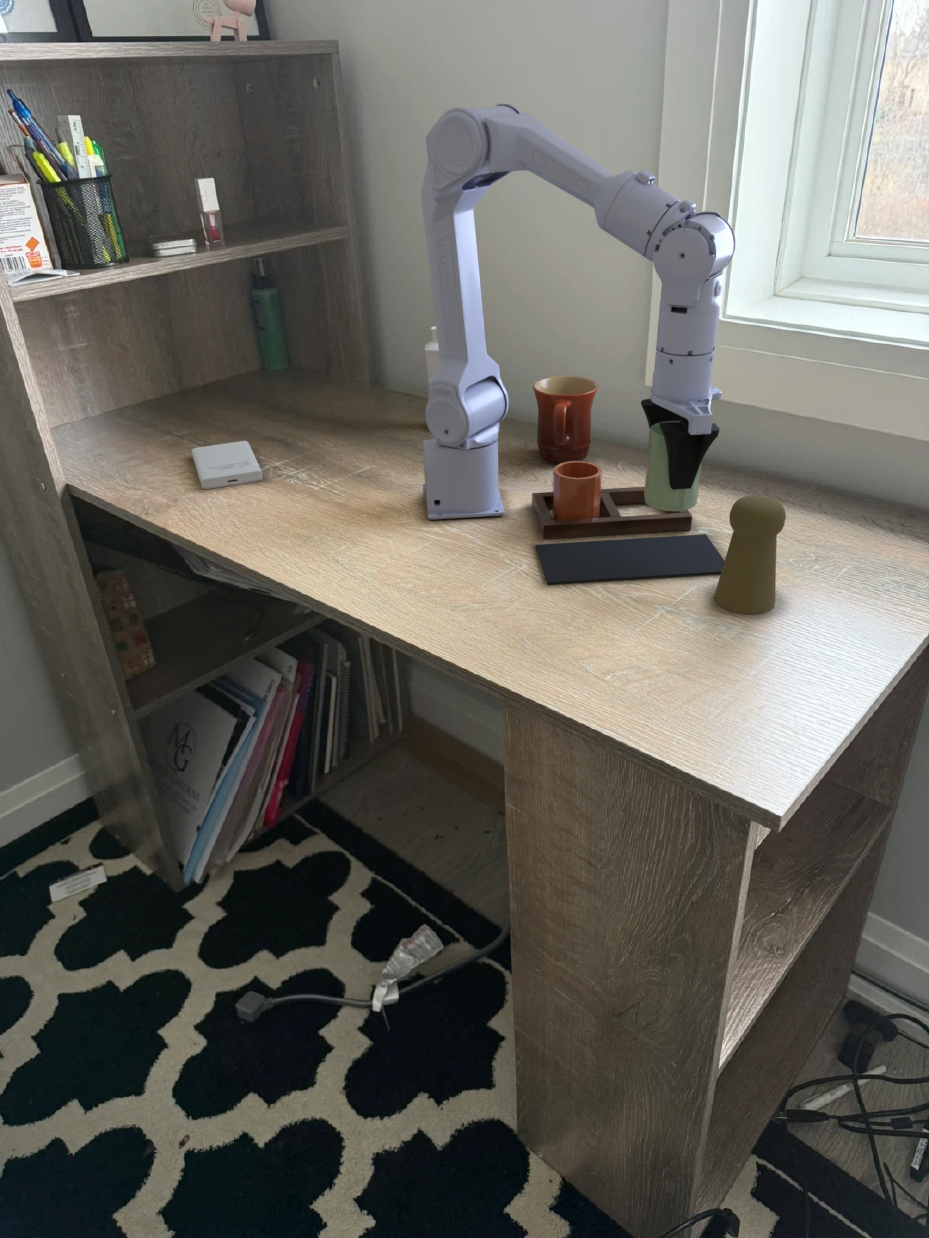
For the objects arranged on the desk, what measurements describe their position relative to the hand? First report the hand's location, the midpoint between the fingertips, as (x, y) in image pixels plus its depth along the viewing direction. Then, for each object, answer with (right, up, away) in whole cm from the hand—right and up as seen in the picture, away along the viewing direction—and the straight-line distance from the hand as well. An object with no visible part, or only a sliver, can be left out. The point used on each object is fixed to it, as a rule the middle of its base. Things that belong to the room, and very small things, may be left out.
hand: (672, 476), depth 96 cm
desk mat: (-4, -9, +4) cm, 10 cm away
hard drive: (-56, +6, +31) cm, 64 cm away
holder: (-5, -3, +13) cm, 15 cm away
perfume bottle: (-26, +14, +43) cm, 52 cm away
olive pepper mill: (+6, -13, -4) cm, 15 cm away
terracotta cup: (-9, -3, +13) cm, 16 cm away
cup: (0, -2, +1) cm, 3 cm away
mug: (-9, +7, +30) cm, 32 cm away
